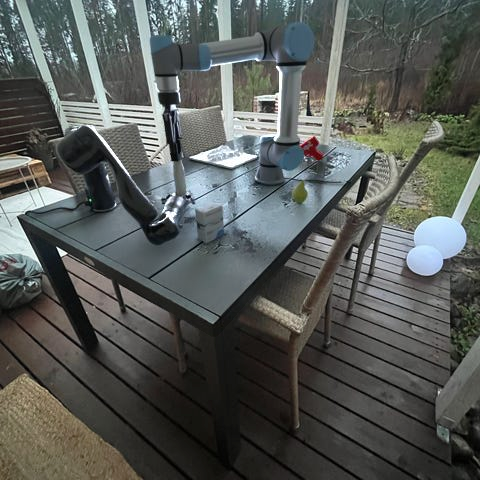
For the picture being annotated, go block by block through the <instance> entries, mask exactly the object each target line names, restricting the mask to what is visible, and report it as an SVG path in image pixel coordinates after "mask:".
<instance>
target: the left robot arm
mask: <svg viewBox="0 0 480 480" xmlns="http://www.w3.org/2000/svg"><path fill="white" fill-rule="evenodd" d="M55 152H56V156H57V157H58V159H59V160H60V162H62V164H63V165H64V166H65V167H66V168H67V169H69V170H70V171H72V172H73V173H75V174H77V175H81V176H82V180H83V182H84V187H85V188H84V193H85V196H86V198H85V199H84V200H83V201H82V202H79V203H78V204H77V205H76V206H75V207H74V208H71V207H65V206H60V207H54V208H51V209H48V210H45V211H34V210H30V209H29V210H27V211H25V213H24V214H25V215H27V214H29V213H31V214H35V215H43V214H47V213H50V212H54V211H57V210H67V211H75V210H77V209H79V208H80V206H81V205H83V204H84V206H85V207H89V208H90V210H91V211H92V212H96V213H106V212H110V211H112V210H114V209H116V208H117V203H116V197H115V196H114V191H113V189H112V185H111V181H110V179H109V174H108V171H107V168H106V164H107V165H108V167H109V168H110V170H111V171H112V174H113V177H114V180H115V184H116V190H117V194H118V199H119V201H120V203H121V206H122V208H123V209H124V210H125V211H126V212H127V213H128V214H129V215H130V216H131V217H132V218H133V219H134V221H136V222H137V224H138V225H139V227H140V229H141V230H142V232H143V234H144V236H145V237H146V240H147V241H148V242H149V243H150V244H151V245H153V246H157V247H158V246H161V245H164V244H166V243H168V242H171V241H172V240H175V239H176V238H177V237H178V236H179V235H180V232H181V231H180V230H181V229H180V221H181V219H182V218H183V216H184V214H185V211H186V210H185V209H186V206H187V205H188V206H189V204H192V205H196V198H195V195H194V193H193V192H191V190H190V189H187V192H186V194H183V195H182V196H176V189H175V190H174V191H172V192H168V193H166V194H165V195H163V196H162V197H161V198H160V201H161V205H163V207H162V211H161V212H160V213H159V211H158V209H157V207H156V206H155V205H154V204H153V203H152V201H151V200H150V199H149V198H148V197H147V196H146V195H145V194H144V192H143V191H142V190H141V189H140V187H139V186H138V185H137V184H136V182H135V181H134V179H133V178H132V176H131V175H130V173H129V172H128V170H127V169H126V168H125V166H124V165H123V164H122V162H121V161H120V159H119V158H118V157H117V156H116V154H115V153H114V152H113V150H112V149H111V148H110V146H109V145H108V143H107V142H106V141H105V139H104V138H103V137H102V136H101V135H100V134H99V133H98V132H97V131H96V128H95V127H94V126H93V125H88V124H83V125H77V126H70V127H67V128H65V130H64V137H63V138H62V139H60V140H59V141H58V142H57V143H56V145H55ZM105 163H106V164H105ZM31 211H32V212H31ZM91 211H90V212H91ZM158 215H159V216H158ZM157 217H158V221H157V222H156V223H153V222H154V221H155V220H156V219H157Z"/></svg>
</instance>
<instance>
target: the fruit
mask: <svg viewBox="0 0 480 480" xmlns="http://www.w3.org/2000/svg"><path fill="white" fill-rule="evenodd" d="M310 177H311V175H310V174H309V175H308V176H307V177H305V179H301V180H302V181H299V182H298V184H297V185H296V186H295V187H294V188H293V190H292V191H291V198H292V200H293V201H294V202H295V203H297V204H301V203H304V202H305V201H306V200H307V198H308V196H309V195H308V190H307V189H306V184H305V183H306V181H305V180H308V179H309V178H310Z"/></svg>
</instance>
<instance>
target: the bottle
mask: <svg viewBox="0 0 480 480" xmlns="http://www.w3.org/2000/svg"><path fill="white" fill-rule="evenodd" d="M172 175H173V182H174V186H175V187H174V188H175V190H176V196H182V195H183V194H186V192H187V190H188V189H187V183H186V173H185V168H184V164H183V162H182V160H179V161H178V162H175V161H172ZM189 207H190V206H189V204H188V205H187V206H186V209H185V211H187V210H188V209H190V208H189Z"/></svg>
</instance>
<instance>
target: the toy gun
mask: <svg viewBox="0 0 480 480" xmlns="http://www.w3.org/2000/svg"><path fill="white" fill-rule="evenodd" d="M319 144H320V141H319V140H318V138H317V137H316V136H315V135H313V136H311V137H310V138H308V139H306V140H305V141H304V142H302V143H300V147H301V148H302V150H303V151H304V157H305V158H309V157H310V156H311V157H313V158H314V159H315V160H316V162H317V163H319V161H317V160H320V159H321V161H323V158H324V154H323V153H322V152H320V151H319V149H317V147H318V146H319Z"/></svg>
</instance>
